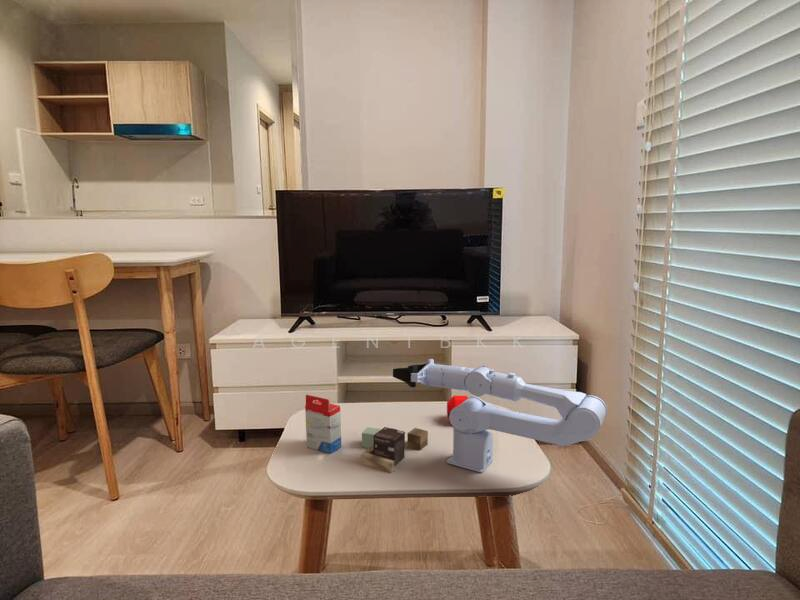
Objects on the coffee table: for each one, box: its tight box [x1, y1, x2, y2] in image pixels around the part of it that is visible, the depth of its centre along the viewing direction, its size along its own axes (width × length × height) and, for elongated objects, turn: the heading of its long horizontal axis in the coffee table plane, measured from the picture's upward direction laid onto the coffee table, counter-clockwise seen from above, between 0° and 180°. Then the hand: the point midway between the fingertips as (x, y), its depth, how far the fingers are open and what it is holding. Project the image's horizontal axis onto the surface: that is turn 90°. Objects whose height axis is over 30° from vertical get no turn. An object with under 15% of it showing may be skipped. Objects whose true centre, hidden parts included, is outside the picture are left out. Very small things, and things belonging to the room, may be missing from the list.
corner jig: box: [360, 446, 395, 474], centre depth 120 cm, size 9×9×2 cm
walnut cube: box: [406, 427, 429, 451], centre depth 128 cm, size 4×4×4 cm
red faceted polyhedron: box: [446, 395, 469, 419], centre depth 144 cm, size 8×8×8 cm
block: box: [361, 426, 382, 449], centre depth 129 cm, size 4×4×4 cm
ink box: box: [304, 394, 342, 454], centre depth 127 cm, size 8×5×15 cm, turn 59°
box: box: [373, 426, 406, 468], centre depth 120 cm, size 6×6×7 cm
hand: (401, 371), depth 127 cm, fingers open, 7 cm apart
